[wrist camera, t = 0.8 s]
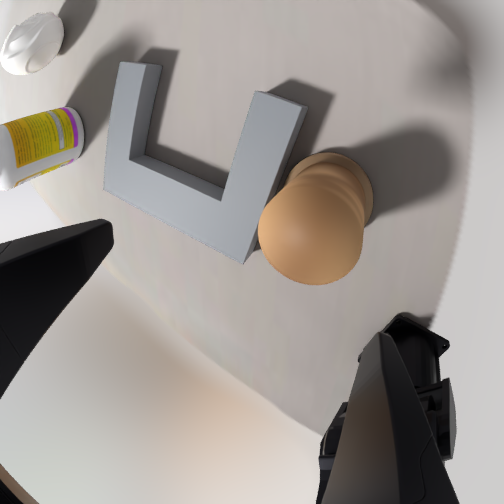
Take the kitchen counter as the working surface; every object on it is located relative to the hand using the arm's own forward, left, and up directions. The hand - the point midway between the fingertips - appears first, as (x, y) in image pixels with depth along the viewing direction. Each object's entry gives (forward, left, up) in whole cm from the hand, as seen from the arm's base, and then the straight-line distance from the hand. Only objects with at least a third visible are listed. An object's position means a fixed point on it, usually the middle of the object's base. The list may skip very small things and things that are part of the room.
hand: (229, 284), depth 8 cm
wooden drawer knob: (-1, +1, -13) cm, 13 cm away
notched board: (+10, +2, -13) cm, 16 cm away
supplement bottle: (+26, +5, -13) cm, 29 cm away
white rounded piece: (+32, -6, -13) cm, 35 cm away
